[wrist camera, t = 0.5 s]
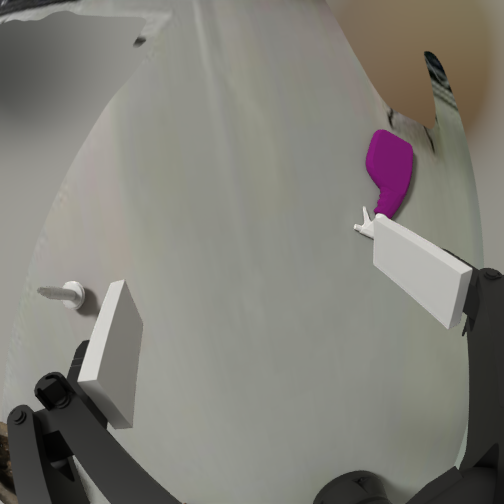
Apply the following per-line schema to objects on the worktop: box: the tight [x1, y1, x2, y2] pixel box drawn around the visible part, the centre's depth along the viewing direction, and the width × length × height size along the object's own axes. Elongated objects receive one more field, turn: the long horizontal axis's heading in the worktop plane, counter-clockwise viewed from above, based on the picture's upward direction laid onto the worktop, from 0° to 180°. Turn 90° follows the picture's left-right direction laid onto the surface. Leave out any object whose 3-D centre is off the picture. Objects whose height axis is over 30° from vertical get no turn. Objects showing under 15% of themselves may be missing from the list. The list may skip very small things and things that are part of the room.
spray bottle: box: [354, 130, 413, 239], centre depth 55 cm, size 3×11×25 cm
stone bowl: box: [0, 422, 18, 504], centre depth 34 cm, size 25×25×9 cm
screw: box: [37, 281, 85, 310], centre depth 40 cm, size 13×5×5 cm
